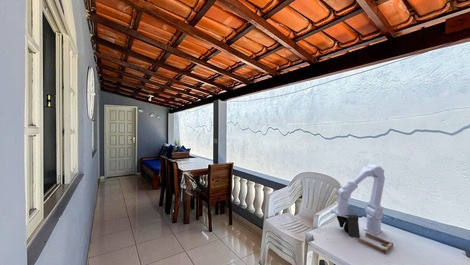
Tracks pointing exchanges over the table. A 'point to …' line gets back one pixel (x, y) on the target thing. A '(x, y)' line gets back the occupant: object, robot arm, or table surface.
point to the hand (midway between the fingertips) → (341, 227)
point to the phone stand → (352, 226)
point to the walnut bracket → (385, 250)
